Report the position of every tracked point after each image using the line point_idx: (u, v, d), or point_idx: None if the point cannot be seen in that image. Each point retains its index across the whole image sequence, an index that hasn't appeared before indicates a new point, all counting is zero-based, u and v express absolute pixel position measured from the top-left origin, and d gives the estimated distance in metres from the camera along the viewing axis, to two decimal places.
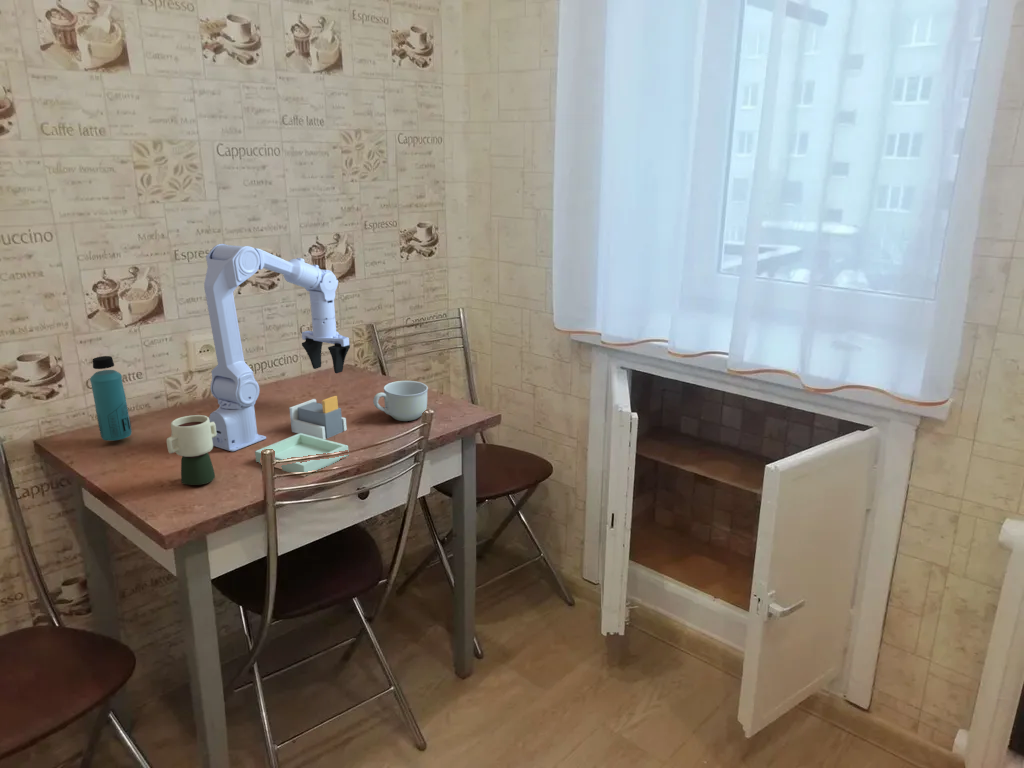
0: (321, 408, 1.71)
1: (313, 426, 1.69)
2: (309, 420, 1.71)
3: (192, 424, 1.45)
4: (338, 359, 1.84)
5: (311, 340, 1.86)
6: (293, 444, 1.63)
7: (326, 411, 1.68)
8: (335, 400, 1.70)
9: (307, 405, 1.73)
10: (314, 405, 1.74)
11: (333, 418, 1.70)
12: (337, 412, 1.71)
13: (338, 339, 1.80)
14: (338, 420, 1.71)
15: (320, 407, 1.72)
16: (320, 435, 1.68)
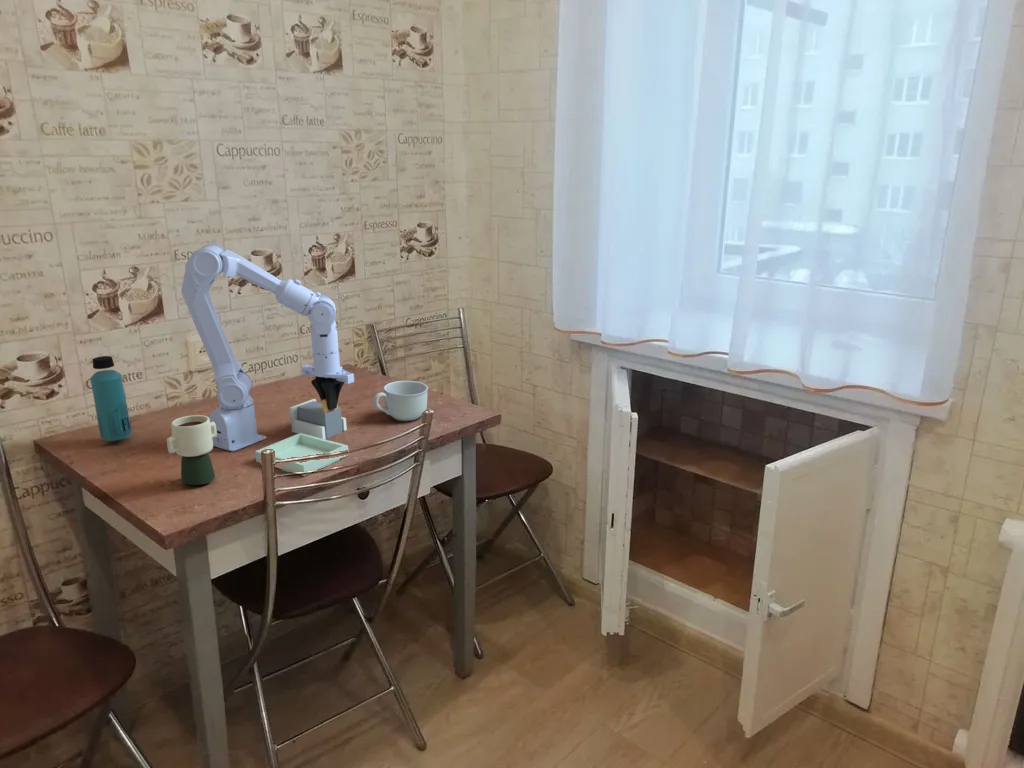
0: (321, 407, 1.71)
1: (313, 426, 1.69)
2: (309, 420, 1.71)
3: (192, 424, 1.45)
4: (332, 395, 1.68)
5: None
6: (293, 444, 1.63)
7: (326, 411, 1.68)
8: None
9: (307, 405, 1.73)
10: (314, 404, 1.74)
11: (333, 418, 1.70)
12: (337, 412, 1.71)
13: (342, 376, 1.63)
14: (338, 420, 1.71)
15: (320, 406, 1.72)
16: (320, 435, 1.68)
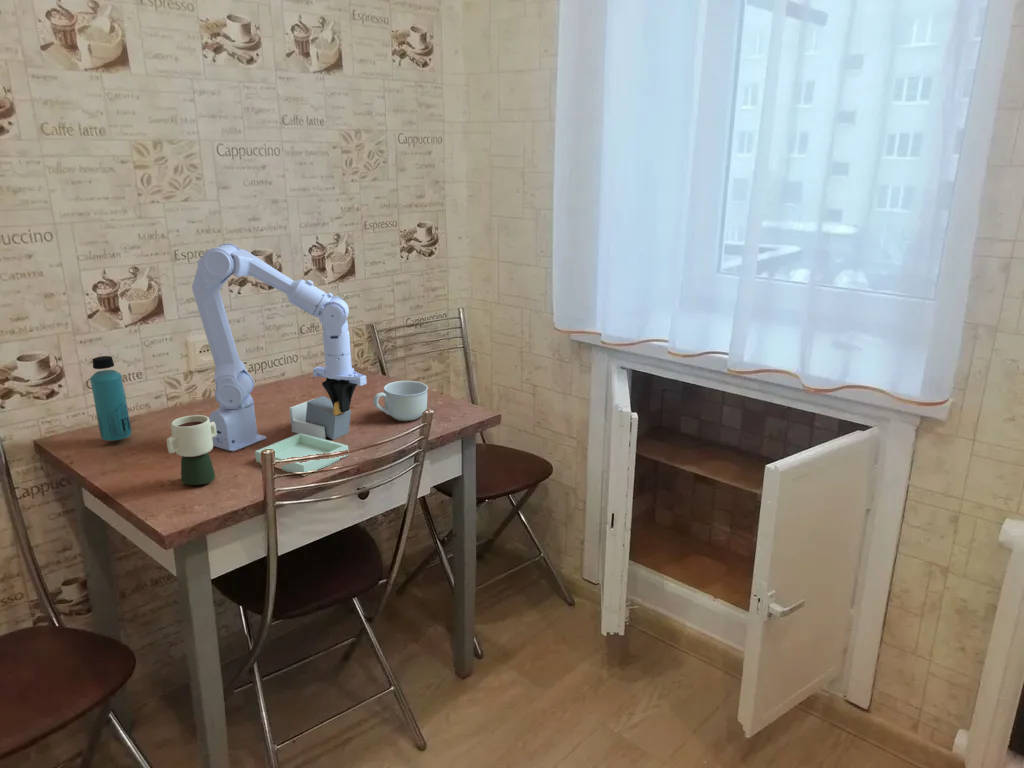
0: (331, 407, 1.69)
1: (313, 426, 1.69)
2: (317, 417, 1.69)
3: (192, 424, 1.45)
4: (344, 397, 1.66)
5: None
6: (293, 444, 1.63)
7: (337, 413, 1.66)
8: None
9: (317, 400, 1.71)
10: (324, 401, 1.71)
11: (342, 420, 1.68)
12: (347, 414, 1.69)
13: (354, 378, 1.61)
14: (346, 422, 1.70)
15: (330, 405, 1.70)
16: (320, 435, 1.68)
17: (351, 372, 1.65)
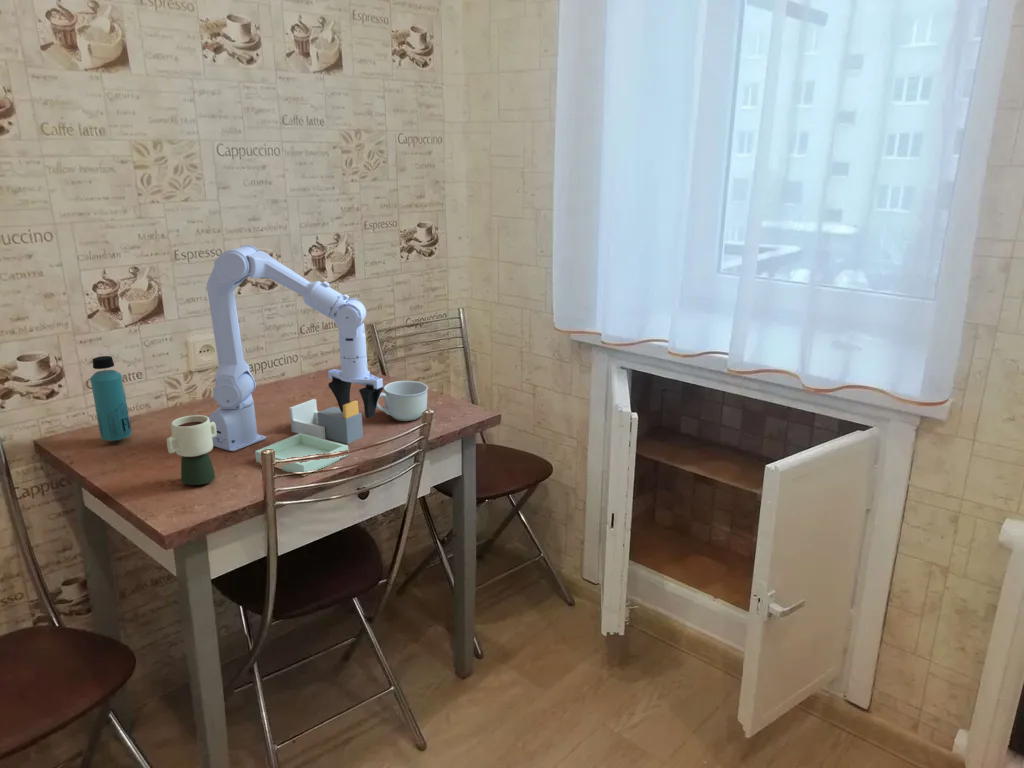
0: (341, 413, 1.68)
1: (313, 426, 1.69)
2: (329, 425, 1.68)
3: (192, 424, 1.45)
4: (370, 402, 1.62)
5: (339, 380, 1.65)
6: (293, 444, 1.63)
7: (347, 416, 1.65)
8: (356, 405, 1.67)
9: (327, 410, 1.70)
10: (334, 409, 1.70)
11: (354, 424, 1.67)
12: (358, 417, 1.67)
13: (370, 381, 1.59)
14: (359, 425, 1.68)
15: (340, 412, 1.69)
16: (320, 435, 1.68)
17: (367, 375, 1.62)
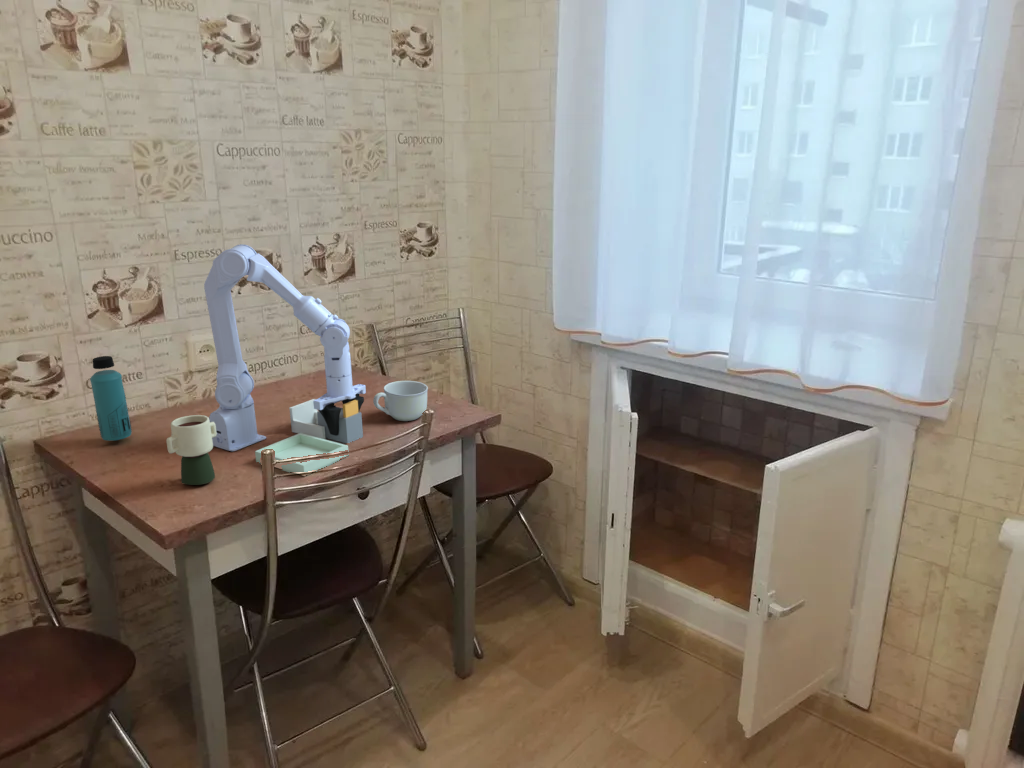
0: (341, 412, 1.68)
1: (313, 426, 1.69)
2: None
3: (192, 424, 1.45)
4: (330, 420, 1.66)
5: None
6: (293, 444, 1.63)
7: (347, 415, 1.65)
8: (355, 404, 1.67)
9: None
10: None
11: (353, 423, 1.67)
12: (357, 416, 1.67)
13: None
14: (358, 424, 1.68)
15: (340, 411, 1.69)
16: (320, 435, 1.68)
17: (335, 396, 1.64)
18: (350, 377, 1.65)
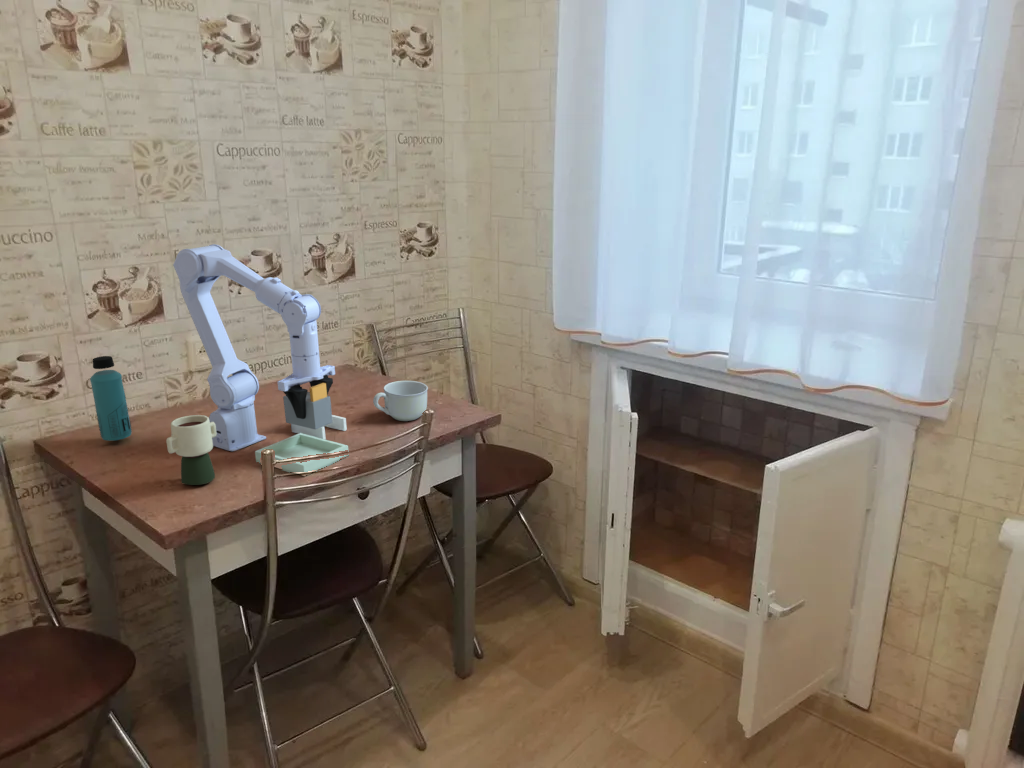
0: (309, 396, 1.58)
1: None
2: None
3: (192, 424, 1.45)
4: (296, 403, 1.56)
5: None
6: (293, 444, 1.63)
7: (314, 399, 1.55)
8: (324, 387, 1.57)
9: None
10: None
11: (322, 407, 1.57)
12: (326, 400, 1.58)
13: None
14: (327, 409, 1.58)
15: (307, 395, 1.59)
16: (320, 435, 1.68)
17: (301, 377, 1.54)
18: (317, 357, 1.55)
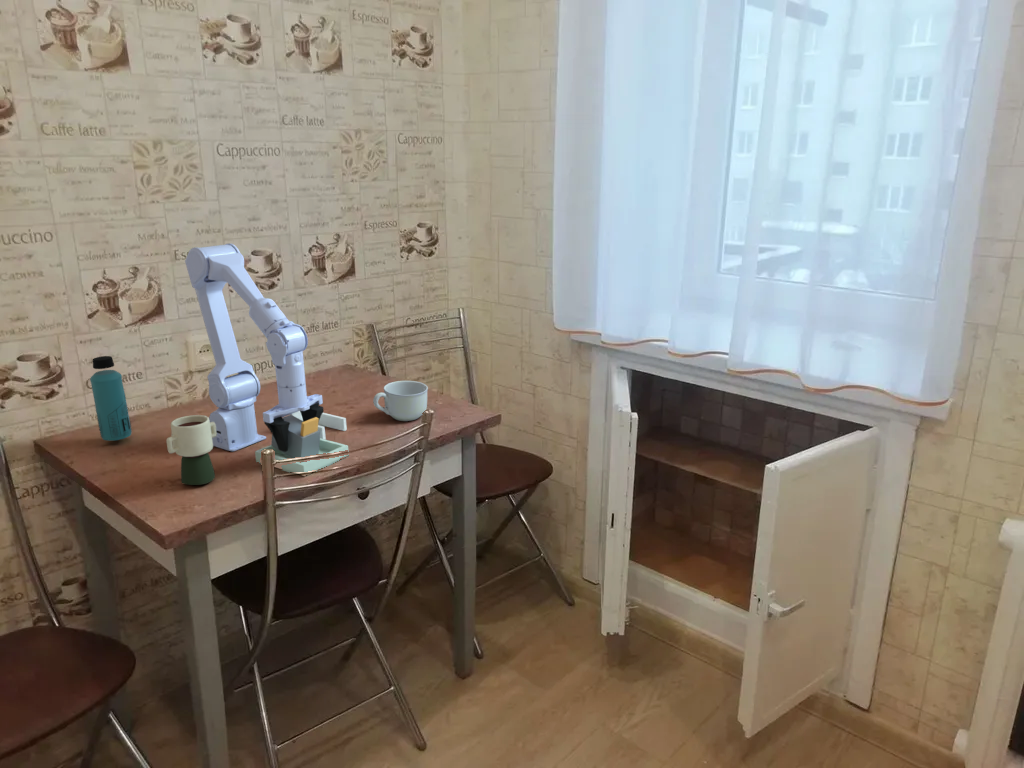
0: (299, 427, 1.56)
1: None
2: None
3: (192, 424, 1.45)
4: (279, 435, 1.53)
5: None
6: None
7: (304, 434, 1.53)
8: (316, 422, 1.54)
9: (284, 420, 1.57)
10: (291, 420, 1.58)
11: (310, 442, 1.55)
12: (316, 435, 1.55)
13: None
14: (315, 443, 1.56)
15: (298, 425, 1.56)
16: (320, 435, 1.68)
17: (287, 408, 1.52)
18: (303, 387, 1.53)
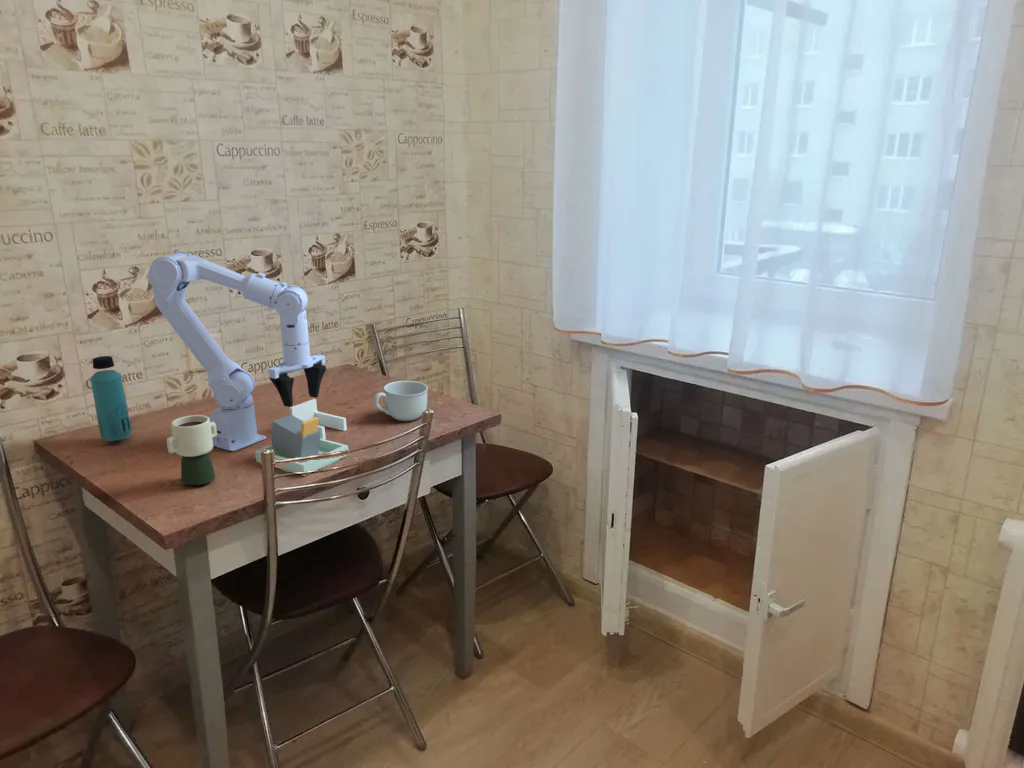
0: (299, 427, 1.56)
1: None
2: (283, 438, 1.55)
3: (192, 424, 1.45)
4: (283, 391, 1.61)
5: None
6: None
7: (304, 434, 1.53)
8: (316, 422, 1.54)
9: (284, 420, 1.57)
10: (291, 420, 1.58)
11: (310, 442, 1.55)
12: (316, 435, 1.55)
13: None
14: (315, 443, 1.56)
15: (298, 425, 1.56)
16: (320, 435, 1.68)
17: (291, 365, 1.60)
18: (307, 345, 1.61)
